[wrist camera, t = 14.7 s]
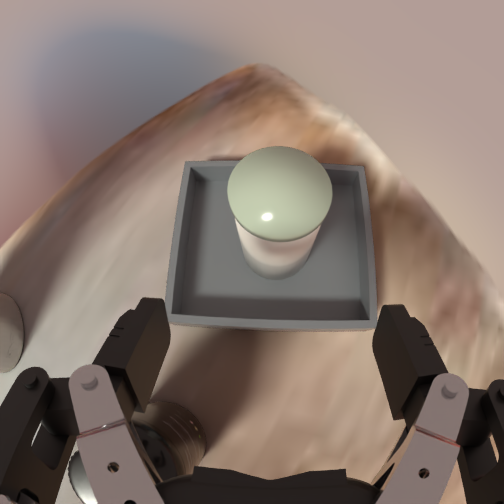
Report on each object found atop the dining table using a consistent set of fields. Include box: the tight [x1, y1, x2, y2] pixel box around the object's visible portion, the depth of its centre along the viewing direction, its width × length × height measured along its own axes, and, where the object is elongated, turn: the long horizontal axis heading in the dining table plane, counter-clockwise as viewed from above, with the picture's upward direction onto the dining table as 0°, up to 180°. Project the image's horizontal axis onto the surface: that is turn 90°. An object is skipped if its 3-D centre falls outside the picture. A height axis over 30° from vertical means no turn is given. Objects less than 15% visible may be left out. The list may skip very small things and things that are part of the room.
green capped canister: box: [227, 146, 332, 280], centre depth 21 cm, size 6×6×10 cm
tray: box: [165, 161, 377, 332], centre depth 25 cm, size 16×14×3 cm
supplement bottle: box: [68, 402, 206, 504], centre depth 16 cm, size 7×7×12 cm
